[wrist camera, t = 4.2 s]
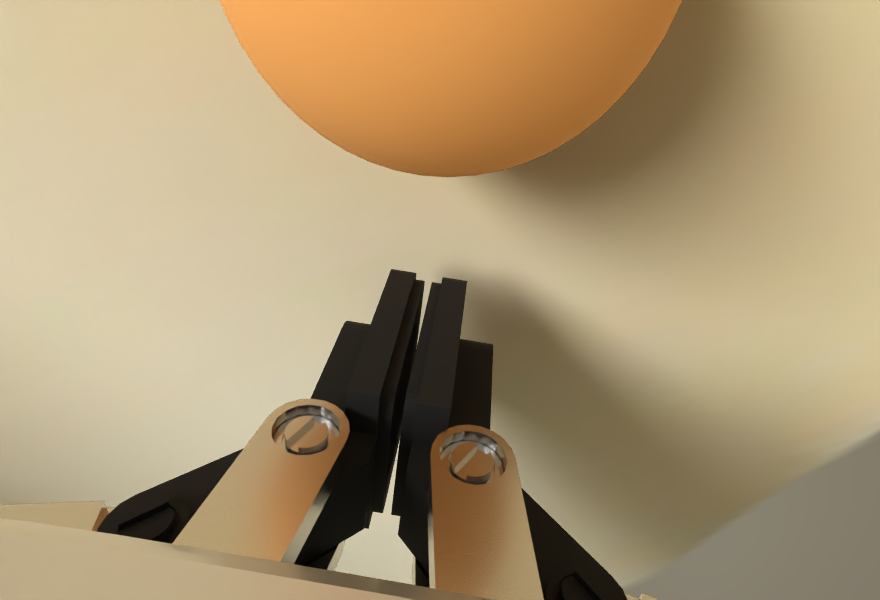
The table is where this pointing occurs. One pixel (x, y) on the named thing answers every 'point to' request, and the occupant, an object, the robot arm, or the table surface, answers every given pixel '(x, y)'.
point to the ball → (450, 72)
